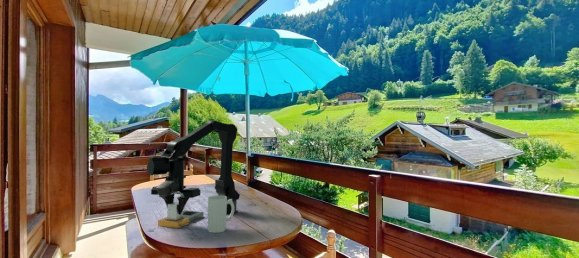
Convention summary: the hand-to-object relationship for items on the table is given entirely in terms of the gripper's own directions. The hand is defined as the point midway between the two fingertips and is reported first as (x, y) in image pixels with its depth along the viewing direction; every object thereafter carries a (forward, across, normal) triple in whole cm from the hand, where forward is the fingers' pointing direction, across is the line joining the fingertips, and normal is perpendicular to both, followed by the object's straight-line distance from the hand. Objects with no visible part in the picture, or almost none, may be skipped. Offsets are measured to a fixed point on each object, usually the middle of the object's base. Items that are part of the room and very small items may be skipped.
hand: (175, 213), depth 120 cm
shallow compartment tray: (+4, 0, +4) cm, 6 cm away
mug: (+4, +20, 0) cm, 20 cm away
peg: (+3, 0, 0) cm, 3 cm away
